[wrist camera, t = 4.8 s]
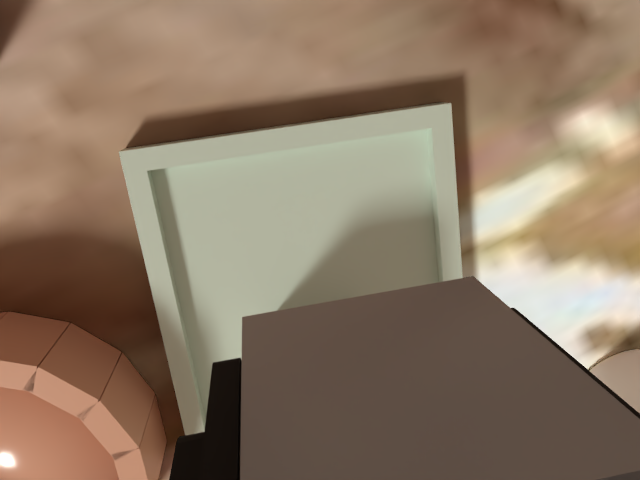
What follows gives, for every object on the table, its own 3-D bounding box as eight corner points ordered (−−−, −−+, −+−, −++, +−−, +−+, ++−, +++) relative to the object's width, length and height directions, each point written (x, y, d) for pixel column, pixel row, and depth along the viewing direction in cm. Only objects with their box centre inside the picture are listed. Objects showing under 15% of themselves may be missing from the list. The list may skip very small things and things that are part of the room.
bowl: (-182, 343, 26) (-267, 393, 22) (130, 290, 27) (108, 329, 23) (-80, 583, 30) (-134, 666, 26) (188, 528, 31) (179, 598, 27)
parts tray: (124, 148, 25) (118, 151, 24) (441, 102, 27) (451, 102, 26) (193, 445, 30) (191, 461, 29) (462, 393, 31) (471, 406, 30)
